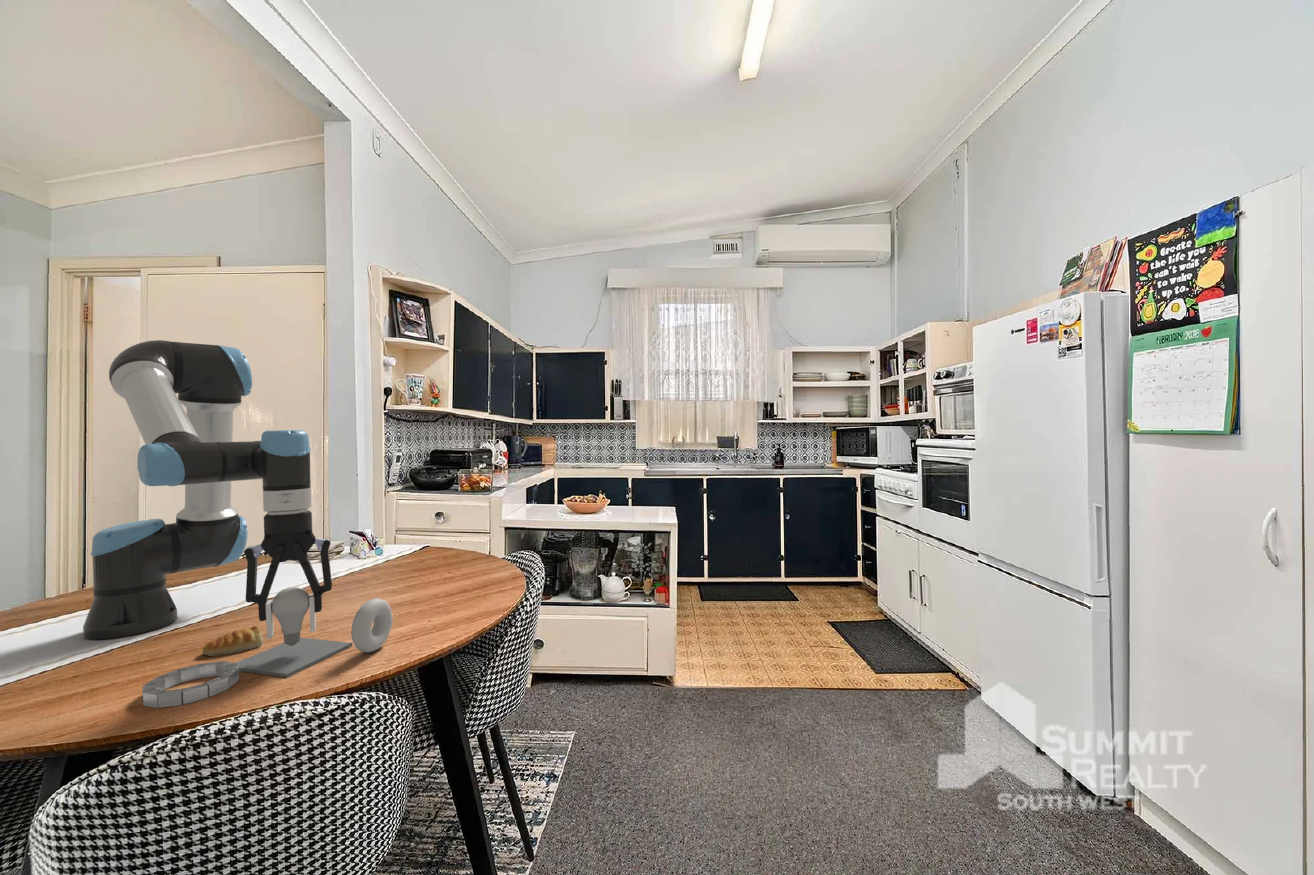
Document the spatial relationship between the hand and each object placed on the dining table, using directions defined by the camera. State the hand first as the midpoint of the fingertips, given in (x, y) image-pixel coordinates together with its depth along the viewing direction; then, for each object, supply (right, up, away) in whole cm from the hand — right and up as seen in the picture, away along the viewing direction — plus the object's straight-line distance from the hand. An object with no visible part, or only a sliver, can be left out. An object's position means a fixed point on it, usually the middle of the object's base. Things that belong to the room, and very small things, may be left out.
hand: (292, 632), depth 102 cm
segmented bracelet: (-8, -5, -12) cm, 16 cm away
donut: (+14, -5, +2) cm, 15 cm away
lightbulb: (0, -3, 0) cm, 3 cm away
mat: (0, -5, 0) cm, 5 cm away
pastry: (-14, -5, +5) cm, 16 cm away
